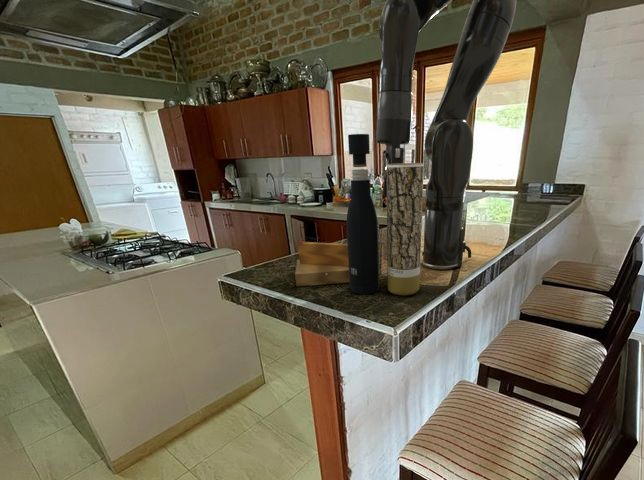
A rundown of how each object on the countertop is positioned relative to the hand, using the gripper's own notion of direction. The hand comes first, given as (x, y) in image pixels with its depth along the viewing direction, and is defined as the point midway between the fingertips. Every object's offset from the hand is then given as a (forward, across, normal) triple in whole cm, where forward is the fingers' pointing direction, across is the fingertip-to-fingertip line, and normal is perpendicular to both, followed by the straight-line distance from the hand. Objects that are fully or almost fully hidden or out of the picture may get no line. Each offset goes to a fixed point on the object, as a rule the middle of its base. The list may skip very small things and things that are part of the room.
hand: (390, 198), depth 78 cm
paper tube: (+18, -15, -1) cm, 23 cm away
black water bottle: (+18, -13, +7) cm, 23 cm away
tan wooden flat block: (+15, -2, +16) cm, 22 cm away
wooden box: (+18, -2, +16) cm, 24 cm away
